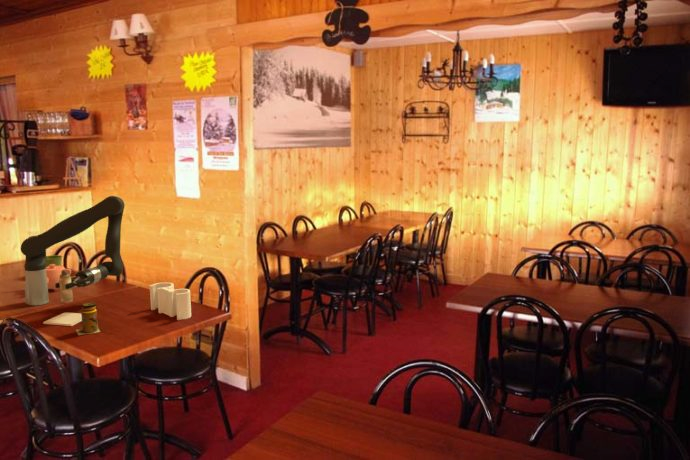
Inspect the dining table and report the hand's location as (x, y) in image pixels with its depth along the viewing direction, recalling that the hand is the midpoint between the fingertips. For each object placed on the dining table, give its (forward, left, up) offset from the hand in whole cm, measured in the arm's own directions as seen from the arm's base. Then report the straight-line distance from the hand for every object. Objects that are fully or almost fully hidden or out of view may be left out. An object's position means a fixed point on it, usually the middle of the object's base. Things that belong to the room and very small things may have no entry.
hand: (61, 286), depth 251 cm
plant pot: (-61, +70, -16) cm, 94 cm away
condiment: (+18, -8, -17) cm, 26 cm away
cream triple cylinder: (+40, +23, -17) cm, 49 cm away
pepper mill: (0, +3, -7) cm, 8 cm away
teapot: (-42, +45, -16) cm, 63 cm away
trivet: (0, +3, -16) cm, 16 cm away
